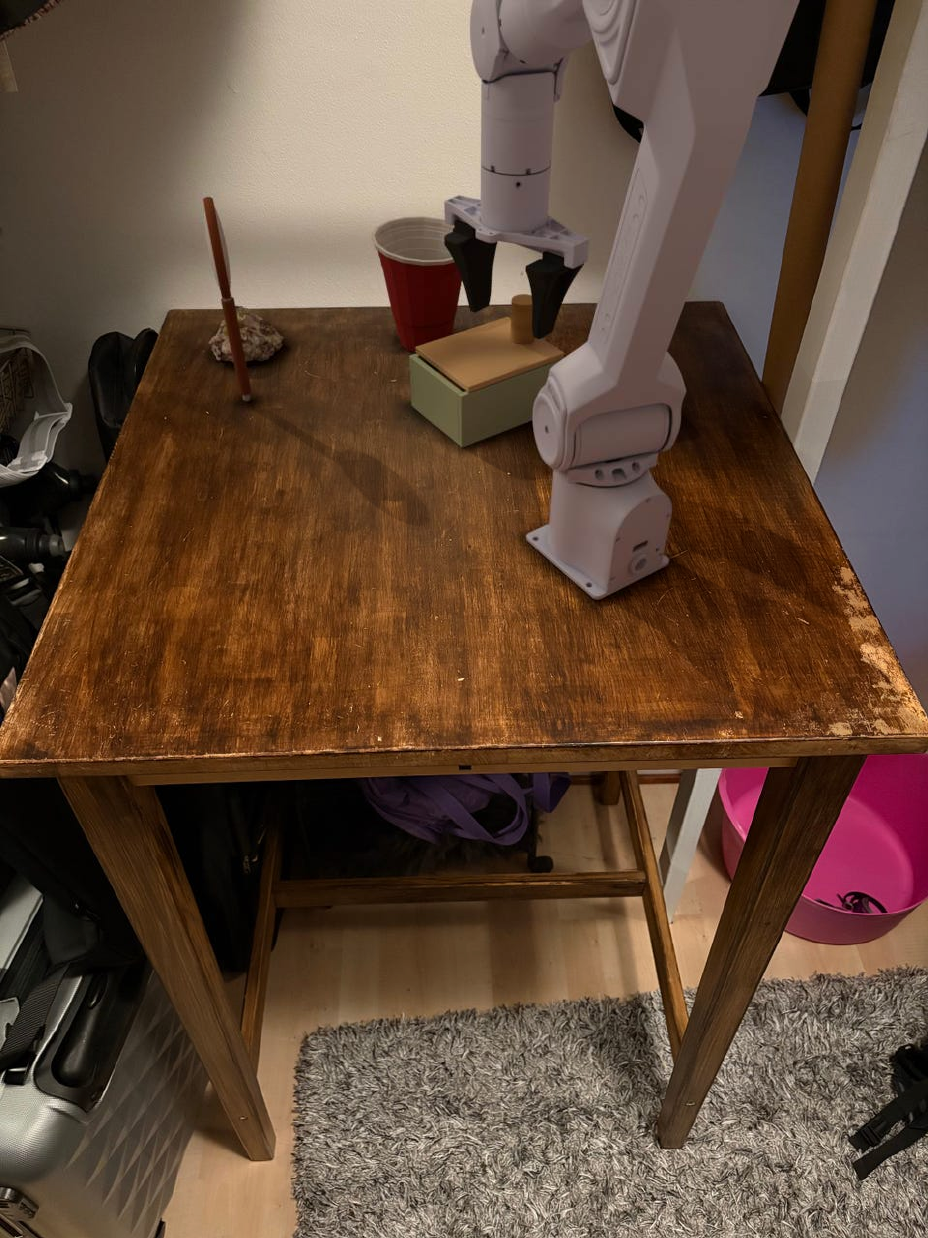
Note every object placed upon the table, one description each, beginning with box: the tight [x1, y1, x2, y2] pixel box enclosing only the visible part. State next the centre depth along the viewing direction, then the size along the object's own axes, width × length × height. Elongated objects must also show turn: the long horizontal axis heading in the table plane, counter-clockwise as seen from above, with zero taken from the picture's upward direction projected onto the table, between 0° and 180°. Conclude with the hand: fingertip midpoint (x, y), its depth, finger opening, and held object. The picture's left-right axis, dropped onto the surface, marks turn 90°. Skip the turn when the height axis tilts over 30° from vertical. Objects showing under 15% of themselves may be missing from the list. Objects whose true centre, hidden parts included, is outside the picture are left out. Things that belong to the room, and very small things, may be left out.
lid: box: [415, 293, 565, 392], centre depth 87 cm, size 9×11×5 cm
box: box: [408, 353, 558, 449], centre depth 90 cm, size 9×11×6 cm
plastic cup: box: [370, 216, 463, 354], centre depth 98 cm, size 11×11×12 cm
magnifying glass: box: [202, 196, 252, 402], centre depth 86 cm, size 9×2×20 cm, turn 14°
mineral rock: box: [207, 305, 285, 363], centre depth 101 cm, size 11×4×8 cm
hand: (510, 321), depth 83 cm, fingers open, 7 cm apart
